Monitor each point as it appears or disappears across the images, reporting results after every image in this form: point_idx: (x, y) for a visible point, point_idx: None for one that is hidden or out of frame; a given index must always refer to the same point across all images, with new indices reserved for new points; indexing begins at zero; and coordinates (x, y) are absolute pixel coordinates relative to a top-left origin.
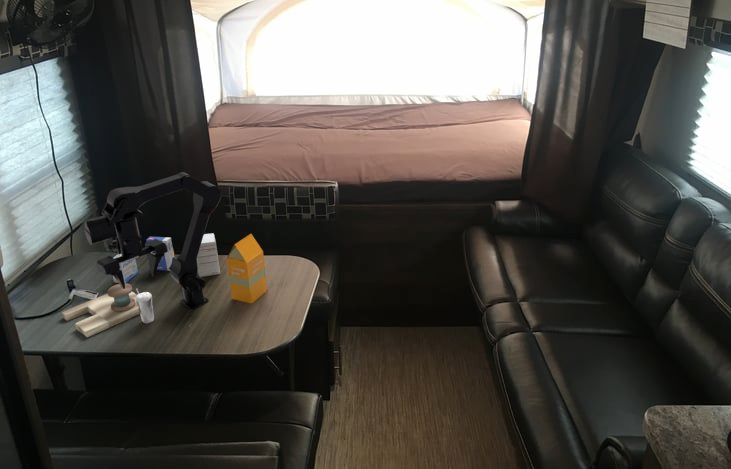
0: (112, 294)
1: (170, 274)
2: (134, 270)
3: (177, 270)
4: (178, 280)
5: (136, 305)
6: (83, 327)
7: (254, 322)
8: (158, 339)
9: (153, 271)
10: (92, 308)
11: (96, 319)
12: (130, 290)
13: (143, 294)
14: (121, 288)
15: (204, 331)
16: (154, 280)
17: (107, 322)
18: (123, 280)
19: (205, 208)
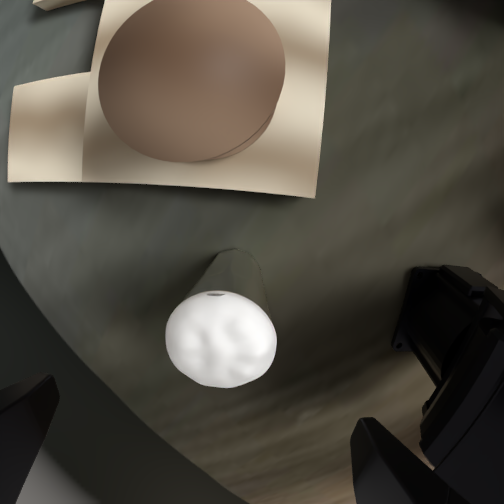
0: (108, 102)
1: (490, 334)
2: None
3: (471, 467)
4: (425, 446)
5: (254, 154)
6: (13, 143)
7: None
8: (185, 398)
9: (358, 499)
10: (108, 10)
11: (64, 118)
12: (230, 149)
13: (217, 365)
14: (200, 67)
15: (302, 455)
16: (459, 10)
17: (81, 181)
18: (18, 485)
19: None
